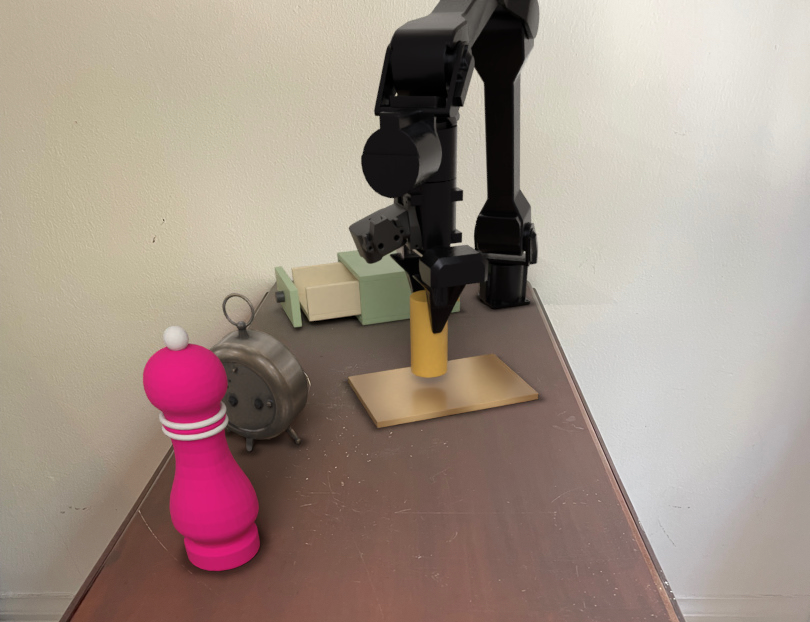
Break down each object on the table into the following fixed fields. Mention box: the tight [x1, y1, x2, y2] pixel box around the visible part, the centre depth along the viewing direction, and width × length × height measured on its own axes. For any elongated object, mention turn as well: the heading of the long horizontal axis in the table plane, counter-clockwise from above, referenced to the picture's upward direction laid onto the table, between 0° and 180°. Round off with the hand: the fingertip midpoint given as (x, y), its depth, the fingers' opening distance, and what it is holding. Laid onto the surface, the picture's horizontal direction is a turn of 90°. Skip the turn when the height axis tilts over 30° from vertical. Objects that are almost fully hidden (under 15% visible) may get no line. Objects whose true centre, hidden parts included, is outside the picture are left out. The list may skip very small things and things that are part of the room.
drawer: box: [274, 261, 361, 328], centre depth 106 cm, size 16×12×5 cm
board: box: [347, 353, 539, 429], centre depth 85 cm, size 20×13×1 cm, turn 108°
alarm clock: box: [209, 292, 309, 452], centre depth 71 cm, size 11×5×16 cm, turn 71°
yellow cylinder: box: [409, 290, 461, 378], centre depth 82 cm, size 6×4×9 cm
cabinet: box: [336, 249, 461, 326], centre depth 109 cm, size 16×14×7 cm
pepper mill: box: [142, 325, 261, 572], centre depth 55 cm, size 7×7×20 cm
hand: (429, 325), depth 81 cm, fingers closed on yellow cylinder, 4 cm apart
